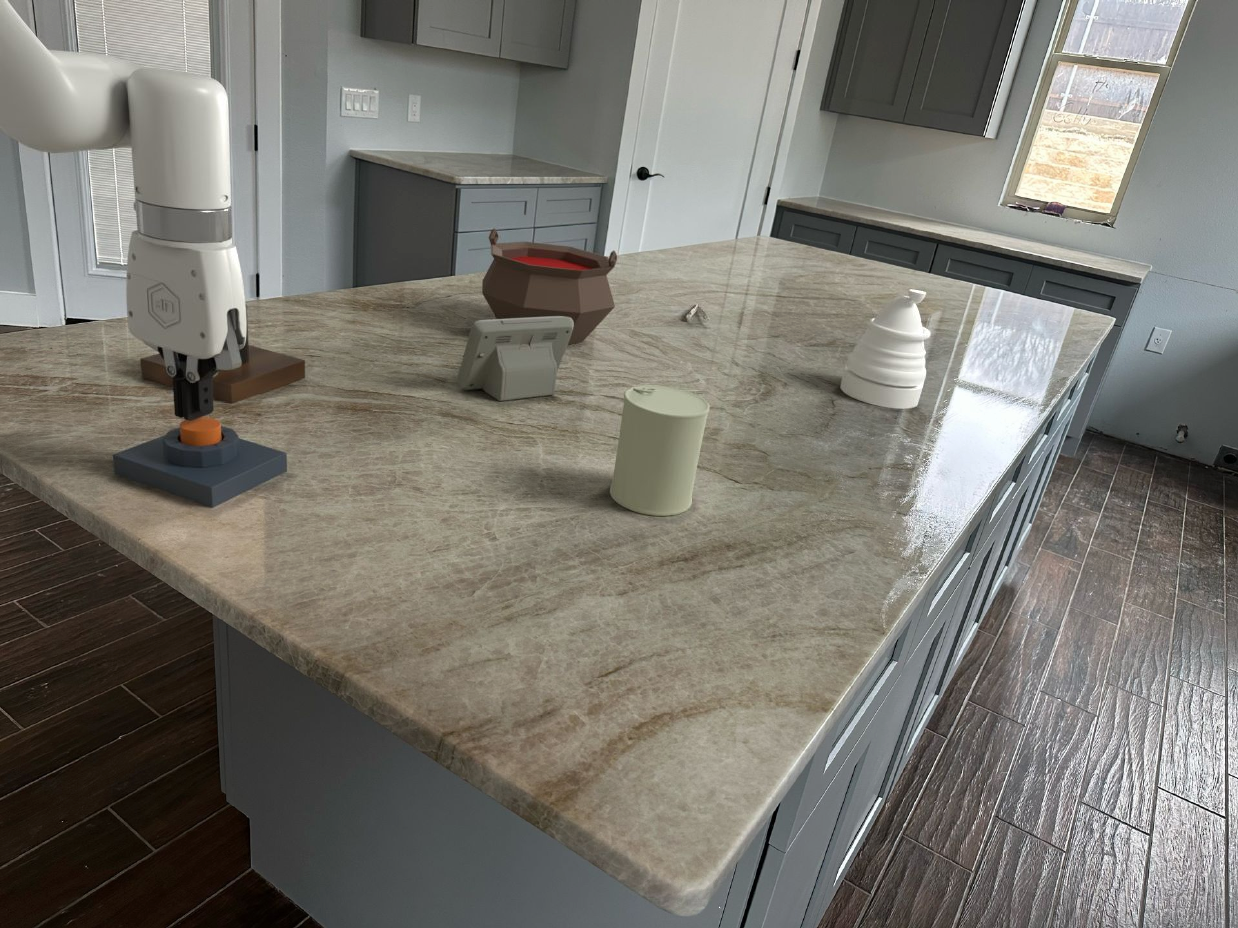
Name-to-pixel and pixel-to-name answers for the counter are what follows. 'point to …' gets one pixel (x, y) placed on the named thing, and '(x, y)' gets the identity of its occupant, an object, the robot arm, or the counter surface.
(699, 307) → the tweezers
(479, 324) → the digital clock
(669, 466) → the can
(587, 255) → the brown cauldron
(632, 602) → the counter surface
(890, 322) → the honey pot
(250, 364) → the swivel stand
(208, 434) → the alarm button
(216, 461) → the alarm button base
